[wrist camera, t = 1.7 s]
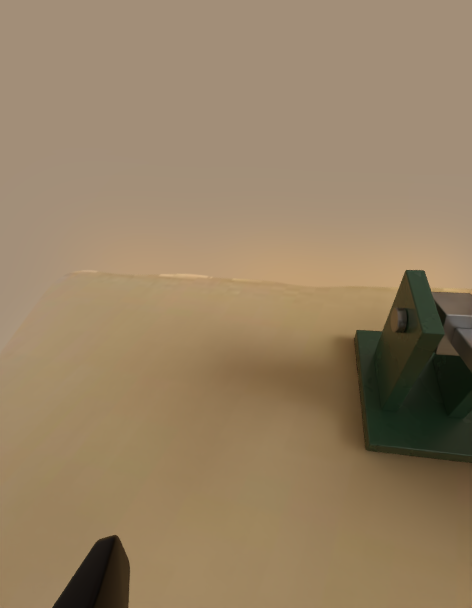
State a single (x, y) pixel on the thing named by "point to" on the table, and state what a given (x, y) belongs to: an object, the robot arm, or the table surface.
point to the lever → (455, 325)
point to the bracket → (414, 381)
